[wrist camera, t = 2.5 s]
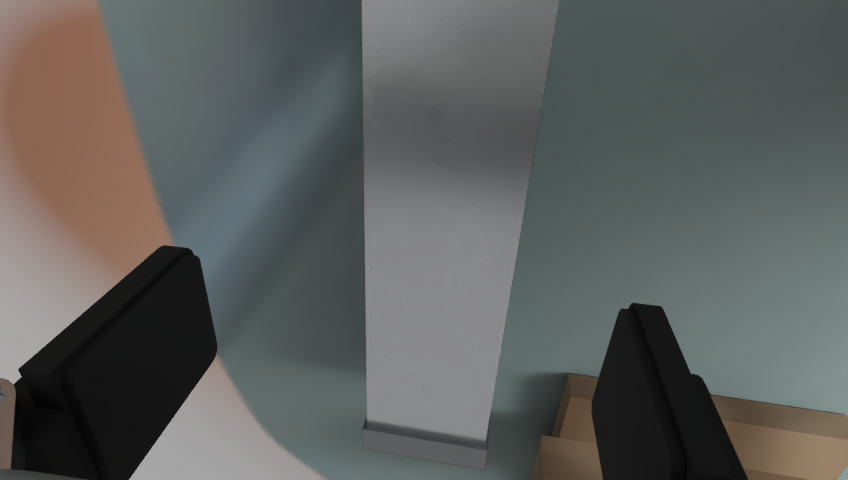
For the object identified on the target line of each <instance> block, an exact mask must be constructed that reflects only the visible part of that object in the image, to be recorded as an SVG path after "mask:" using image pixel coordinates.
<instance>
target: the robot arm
mask: <svg viewBox="0 0 848 480" xmlns="http://www.w3.org/2000/svg"><path fill="white" fill-rule="evenodd" d="M216 353H217V341H216V336H215V331H214V326H213V322H212V317H211V312H210V307H209V302H208V297H207V292H206V287H205V282H204V277H203V272H202V268H201V263H200V259H199V258H198V256H196V255H194V254H193V252H192V251H191V249H189V248H183V247H175V246H166V245H165V246H161V247H160V248H158V249H157V250H156V251H155V252H153V253H152V254H151V255H150V256H149V257H148V258H147V259H145V260H144V261H143V262H142V263H141V264H140V265H138V266H137V267H136V268H135V269H134V270H133V271H132V272H130V273H129V274H128V275H127V276H126V277H125V278H124V279H122V280H121V281H120V282H119V283H118V284H116V285H115V286H114V287H113V288H112V289H111V290H110V291H108V292H107V293H106V294H105V295H104V296H103V297H101V298H100V299H99V300H98V301H97V302H96V303H95V304H93V305H92V306H91V307H90V308H89V309H88V310H86V311H85V312H84V313H83V314H82V315H81V316H79V317H78V318H77V319H76V320H75V321H74V322H72V323H71V324H70V325H69V326H68V327H67V328H65V329H64V330H63V331H62V332H61V333H60V334H59V335H57V336H56V337H55V338H54V339H53V340H52V341H51V342H49V343H48V344H47V345H46V346H45V347H44V348H42V349H41V350H40V351H39V352H38V353H37V354H35V355H34V356H33V357H32V358H31V359H30V360H28V361H27V362H26V363H25V364H24V365H23V366H21V367H20V368H19V369H18V370H19V372H20V374H21V376H22V378H20V379H19V380H18V381H17V382H16V383H15V384H12V383H11V382H10V381H8V380H6V379H2V378H0V480H129V479H130V477H131V476H132V474H133V473H134V472H135V470H136V469H137V467H138V466H139V464H140V463H141V462H142V460H143V459H144V458H145V456H146V455H147V453H148V452H149V451H150V449H151V448H152V446H153V445H154V443H155V442H156V440H157V439H158V438H159V436H160V435H161V434H162V432H163V431H164V429H165V428H166V426H167V425H168V424H169V422H170V421H171V420H172V418H173V417H174V415H175V414H176V412H177V411H178V410H179V408H180V407H181V406H182V404H183V403H184V401H185V400H186V399H187V397H188V395H189V394H190V393H191V391H192V390H193V389H194V387H195V386H196V384H197V383H198V382H199V380H200V379H201V377H202V376H203V375H204V373H205V372H206V370H207V369H208V368H209V366H210V365H211V363H212V362H213V360H214V359H215V356H216ZM591 413H592V420H593V426H594V431H595V437H596V443H597V448H598V454H599V460H600V465H601V471H602V477H603V480H748V478H747V475H746V473H745V471H744V469H743V467H742V464H741V462H740V460H739V458H738V455H737V453H736V451H735V449H734V447H733V444H732V442H731V440H730V438H729V435H728V433H727V431H726V429H725V426H724V424H723V422H722V420H721V418H720V415H719V413H718V411H717V409H716V406H715V404H714V402H713V400H712V397H711V395H710V393H709V391H708V389H707V386H706V384H705V383H704V381H703V379H702V378H701V377H700V376H698V375H695V374H691V373H690V371H689V368H688V366H687V364H686V361H685V359H684V357H683V354H682V352H681V350H680V347H679V345H678V343H677V340H676V338H675V336H674V333H673V331H672V328H671V326H670V324H669V321H668V319H667V317H666V314H665V312H664V310H663V308H662V307H660V306H654V305H646V304H638V303H632V304H631V305H630V306H629V308H628V309H621V310H620V311H619V314H618V317H617V320H616V323H615V326H614V330H613V333H612V336H611V340H610V343H609V346H608V349H607V353H606V356H605V359H604V362H603V366H602V369H601V372H600V375H599V379H598V382H597V385H596V389H595V392H594V395H593V399H592V406H591Z"/></svg>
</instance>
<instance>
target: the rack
mask: <svg viewBox="0 0 848 480" xmlns="http://www.w3.org/2000/svg"><path fill="white" fill-rule="evenodd" d="M598 379H599V378H596V377H590V376H583V375H576V374H570V373H568V376H567V380H566V383H565V387H564V391H563V395H562V398H561V402H560V406H559V410H558V413H557V417H556V421H555V425H554V428H553V432H552V436H545V435H541V438H540V442H539V446H538V450H537V454H536V458H535V462H534V466H533V470H532V480H603V477H602V471H601V465H600V460H599V454H598V448H597V443H596V437H595V431H594V426H593V420H592V413H591V406H592V399H593V395H594V392H595V389H596V385H597V382H598ZM711 397H712V400H713V402H714V404H715V406H716V409H717V411H718V413H719V415H720V418H721V420H722V422H723V424H724V426H725V429H726V431H727V433H728V435H729V438H730V440H731V442H732V444H733V447H734V449H735V451H736V453H737V455H738V458H739V460H740V462H741V464H742V467H743V469H744V471H745V473H746V475H747V478H748V480H837V479H838V478H839V476H840V475H841V474H842V472H843V471H844V470H845V468H846V467H847V466H848V418H847V416H846V415H841V414H834V413H828V412H821V411H815V410H808V409H801V408H795V407H788V406H782V405H775V404H768V403H762V402H755V401H748V400H742V399H735V398H729V397H722V396H715V395H711Z"/></svg>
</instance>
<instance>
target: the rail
mask: <svg viewBox="0 0 848 480" xmlns="http://www.w3.org/2000/svg"><path fill="white" fill-rule="evenodd" d="M558 6H559V0H362V61H363V141H364V221H365V301H366V381H367V417H366V420H365V423H364V427H363V449H368V450H374V451H380V452H385V453H391V454H397V455H402V456H408V457H414V458H419V459H425V460H431V461H436V462H442V463H448V464H453V465H459V466H465V467H470V468H476V469H482V470H484V469H485V463H486V457H487V451H488V437H489V422H490V412H491V406H492V400H493V394H494V388H495V382H496V376H497V370H498V364H499V358H500V352H501V346H502V340H503V334H504V328H505V322H506V316H507V310H508V304H509V298H510V293H511V287H512V281H513V275H514V269H515V263H516V257H517V251H518V245H519V239H520V233H521V227H522V221H523V215H524V209H525V203H526V197H527V191H528V185H529V179H530V173H531V167H532V161H533V155H534V149H535V143H536V137H537V132H538V126H539V120H540V114H541V108H542V102H543V96H544V90H545V84H546V78H547V72H548V66H549V60H550V54H551V48H552V42H553V36H554V30H555V24H556V18H557V12H558Z"/></svg>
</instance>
